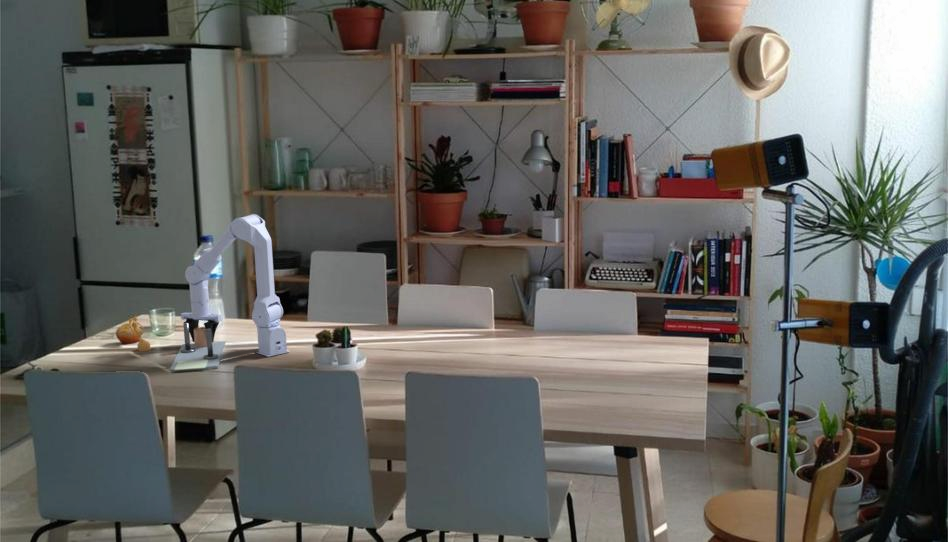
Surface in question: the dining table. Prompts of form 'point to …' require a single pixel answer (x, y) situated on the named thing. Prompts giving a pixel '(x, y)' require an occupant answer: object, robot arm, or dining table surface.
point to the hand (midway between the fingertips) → (203, 341)
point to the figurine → (142, 344)
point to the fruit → (127, 334)
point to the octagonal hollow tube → (200, 337)
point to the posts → (189, 349)
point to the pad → (191, 364)
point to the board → (200, 356)
